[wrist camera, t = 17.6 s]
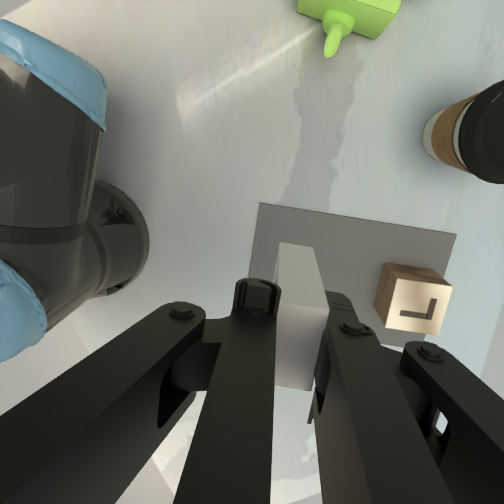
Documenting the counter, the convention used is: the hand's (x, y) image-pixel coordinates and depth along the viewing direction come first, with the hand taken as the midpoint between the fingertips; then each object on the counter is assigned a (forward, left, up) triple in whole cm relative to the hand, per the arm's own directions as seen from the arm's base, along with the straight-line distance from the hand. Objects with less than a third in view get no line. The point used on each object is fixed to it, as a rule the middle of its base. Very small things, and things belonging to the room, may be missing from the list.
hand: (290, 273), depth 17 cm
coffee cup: (+17, +9, -31) cm, 36 cm away
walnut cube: (+16, -10, -24) cm, 31 cm away
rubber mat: (+9, -10, -30) cm, 33 cm away
